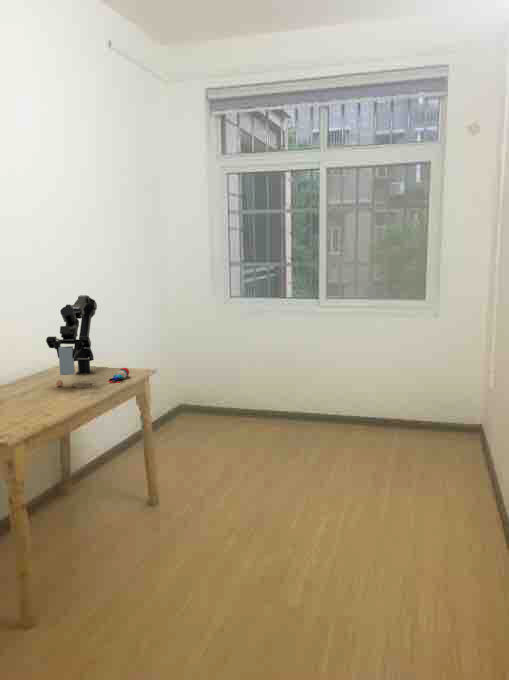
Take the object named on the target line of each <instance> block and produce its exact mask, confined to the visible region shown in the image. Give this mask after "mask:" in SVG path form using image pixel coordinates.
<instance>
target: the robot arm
mask: <svg viewBox="0 0 509 680" xmlns="http://www.w3.org/2000/svg"><path fill="white" fill-rule="evenodd" d="M97 304H98V303H97V302H96V300H95V299H93V298H91V297H90V296H89V295H82V294H81V295H78V296H77V299H76V300H75V302H74V303H73V304H66V305H65V306H64V307H62V308H61V309H60V315H61V317H62V320H63V322H64V323H65V325H61V326H60V327H59V334H60V338H57V336H56V335H55V336H47V337H46V339H45V342H46V344H47V347H48V348H49V349H54V350H56V352H57V353H56V355H57V357H58V359H59V350H58V349H59V347H62V345H73V356H72V357H73V358H74V362H77V369H78V370H77V372H76V371H75V374H76V373H86V374H91V372H93V369H91V362H92V361H94V354H93V350H92V348H91V346H92V341H91V338H90V330H91V322H92V318H93V317H94V316H95V315H96V311H97V309H98V305H97ZM79 320H80V321H79ZM79 329H80V330H79ZM78 331H79V334H78ZM78 335H79V337H78ZM77 337H78V338H77Z"/></svg>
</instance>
